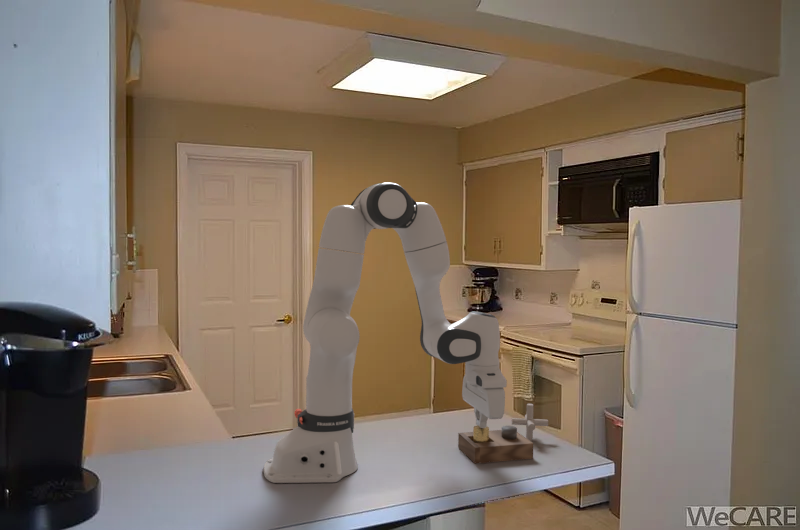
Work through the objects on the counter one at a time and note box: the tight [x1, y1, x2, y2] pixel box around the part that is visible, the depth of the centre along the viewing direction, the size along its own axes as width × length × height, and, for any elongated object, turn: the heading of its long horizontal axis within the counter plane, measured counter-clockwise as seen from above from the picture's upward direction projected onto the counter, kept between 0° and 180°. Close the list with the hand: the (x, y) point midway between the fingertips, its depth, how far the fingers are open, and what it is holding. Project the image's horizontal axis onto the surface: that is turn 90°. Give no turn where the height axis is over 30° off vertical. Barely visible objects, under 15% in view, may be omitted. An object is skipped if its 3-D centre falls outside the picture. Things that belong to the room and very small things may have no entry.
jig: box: [457, 425, 534, 465], centre depth 158 cm, size 16×12×6 cm
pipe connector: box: [511, 403, 549, 442], centre depth 170 cm, size 10×10×10 cm
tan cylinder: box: [472, 425, 490, 443], centre depth 158 cm, size 4×4×7 cm
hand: (481, 426), depth 157 cm, fingers closed
